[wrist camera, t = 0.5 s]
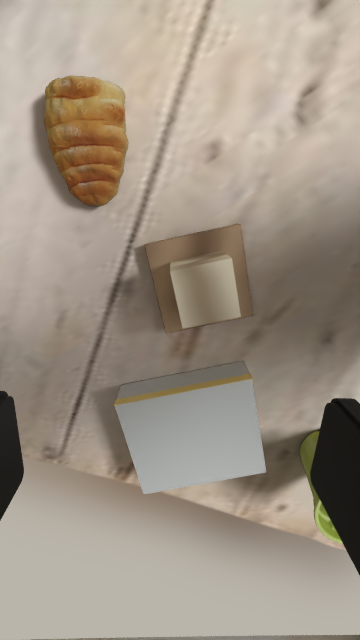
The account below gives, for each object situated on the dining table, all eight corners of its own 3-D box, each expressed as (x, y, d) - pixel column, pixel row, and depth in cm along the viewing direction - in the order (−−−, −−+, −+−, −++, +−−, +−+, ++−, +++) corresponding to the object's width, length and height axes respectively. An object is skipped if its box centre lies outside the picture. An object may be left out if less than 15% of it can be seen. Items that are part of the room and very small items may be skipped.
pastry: (135, 204, 29) (129, 203, 26) (63, 207, 29) (47, 206, 26) (126, 85, 26) (118, 65, 23) (45, 88, 26) (24, 69, 23)
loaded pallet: (237, 223, 30) (253, 226, 24) (250, 311, 33) (267, 333, 27) (146, 243, 30) (139, 251, 24) (166, 328, 33) (164, 354, 27)
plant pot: (270, 461, 39) (296, 527, 31) (314, 404, 37) (354, 459, 28) (331, 486, 41) (370, 555, 33) (376, 433, 38) (432, 493, 30)
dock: (243, 360, 35) (252, 378, 31) (257, 446, 38) (266, 472, 35) (120, 384, 35) (114, 405, 31) (146, 467, 39) (143, 494, 35)
